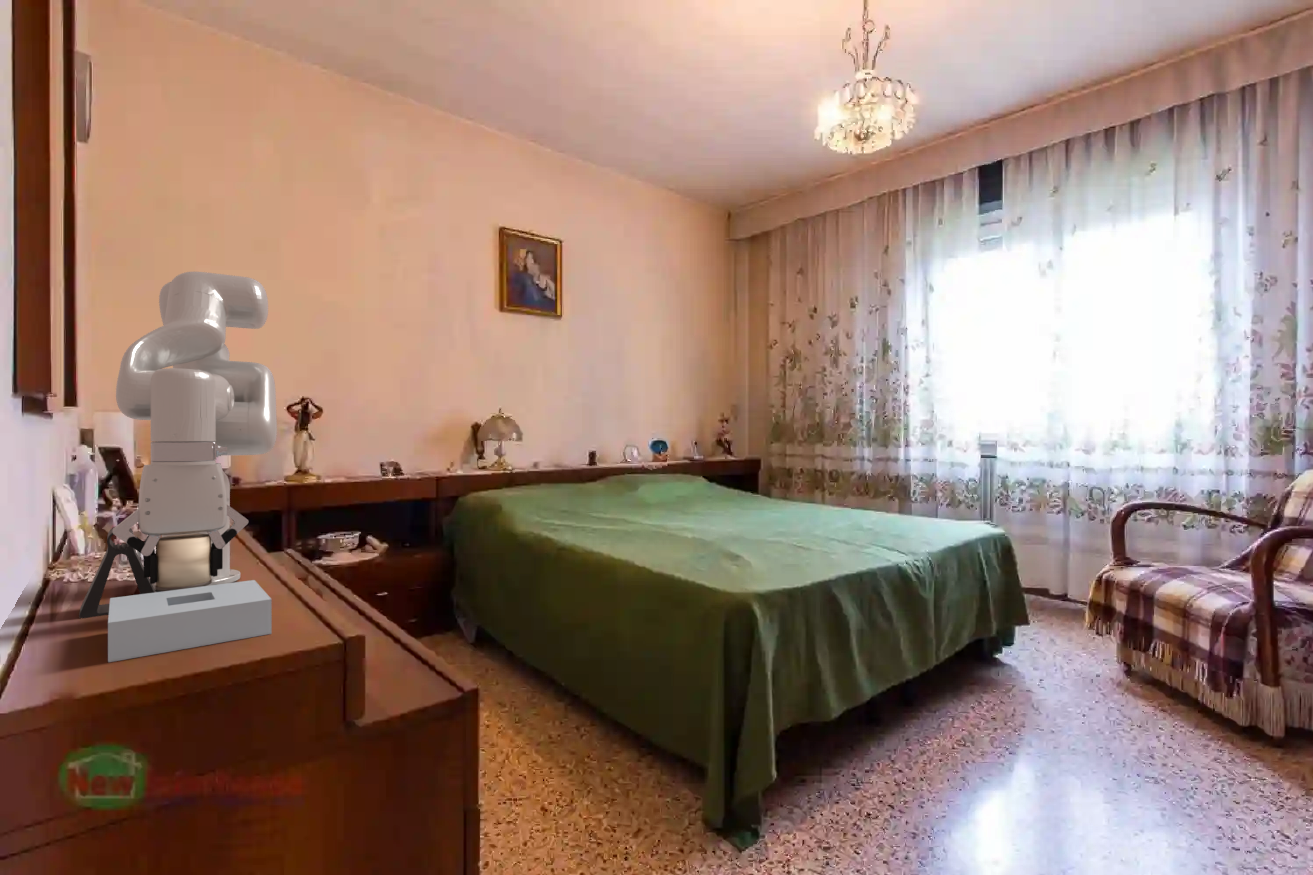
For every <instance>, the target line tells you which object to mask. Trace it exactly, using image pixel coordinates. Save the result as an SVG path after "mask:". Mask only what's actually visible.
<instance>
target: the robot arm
mask: <svg viewBox="0 0 1313 875" xmlns="http://www.w3.org/2000/svg"><path fill="white" fill-rule="evenodd" d="M158 297H159V298H158V299H159V300H158V301H159V302H158V303H159V312H160V318H161V322H162V324H163V325H162V326H159V327H158V328H155V329H153V330H151V331H150V332H148V333H146V334H144V335H143V336H141V337H140V338H139V339H137V340H135V341H134V342H133V343H132V344H130V346H128V348H127V349H126V351H125V352H124V353H123V356H122V357H121V358H122V359H121V361H120V366H119V372H118V376H117V381H116V388H115V400H116V405H117V407H118V409H119V411H120V412H121V413H122V414H123V415H124V416H125V417H128V418H130V419H133V420H137V421H138V420H139V421H150V464H144V465H143V468H142V472H141V476H140V477H141V478H140V483H139V490H138V491H139V493H138V506H137V507H138V508H137V509H136V510H134V512H132V513H131V514H129V516H127V517H126V518H125V519H124V520H122V521H121V522H120V523H119V524H117V525H116V526H114V527H115V528H114V529H113V531H112V532H113V534H114V536H116V537H117V538H118V539H120V540H121V541H123V542H124V543H125V544H126V543H127V544H128V545H129V546H131V547H132V548H134V549H135V550H136V552H138V553H139V554H141V555H142V556H143V567H144V578H147V577H149V579H150V584H152V585H153V587H154V589H155V586H156V582H157V555H156V544H157V542H158V540H159V539H160V538H161V537H166V536H174V535H184V534H209V536H210V537H211V579H212V583H211V584H209V585H207V586H210V585H218V584H226V583H234V582H238V580H240V578H241V572H240V570H237V569H231V567H230V566H231V564H230V563H231V561H230V560H231V558H230V557H231V552H230V551H231V544H230V542H231V541H232V540H233V539H234V538H235V537H236V536H237V534H238V533H240V532H241V531H242V530H243V529H244V528H245V527H246V526H247V525H248V524H249V519H247V518H246V517H245V516H243V515H242V514H241V513H239V512H238V511H237V510H236V509H234V508H233V507H231V506H230V505H231V504H230V503H231V502H230V501H231V500H230V498H231V497H230V496H231V495H230V494H231V493H230V492H231V486H230V485H231V483H230V479H229V477H228V475H227V473H225V471H223V467H222V463H219V462H216V460H217V458H219V457H222V456H256V455H257V456H259V455H263V454H268V453H269V452H270V451H271V450H273V449H274V447H275V444H276V441H277V437H278V435H277V434H278V423H277V422H278V420H277V395H276V393H277V392H276V383H275V378H274V374H273V372H272V371H271V369H270V368H269V367H268V366H267V365H264V364H263V363H259V362H252V361H239V360H230V350H229V348H228V346H227V345H226V344H225V342H226V338H227V337H226V332H227V328H235V329H236V328H237V329H238V328H239V329H253V330H255V329H256V330H258V329H261V328H262V327H264V326H265V324H266V322H267V321H268V320H267V319H268V315H269V298H268V295H267V291H266V289H265V287H264V286H263V284H262V283H261V282H259V281H258V280H257V279H254V278H252V277H249V276H248V277H247V276H240V275H232V274H224V273H214V272H213V273H212V272H205V271H204V272H203V271H187V272H182V273H180V274H178V275H176V276H175V277H174V278H172V280H171V281H169V282H167V283H165V284H164V285H163V286H162V287H161V289H160V291H159V296H158ZM230 519H231V520H232V521H233V524H232V525H231V523H230V522H231V520H230ZM137 523H138V528H139V530H140V532H141V533H142V534H144V535H146V536H147V537H146V538H145V540H144V541H143V540H142V539H141V538H139V537H137V536H136V535H134V533H133V534H132V533H130V532H129V529H130V528H131V529H132V527H134V526H135V525H136V524H137ZM230 525H231V526H230ZM155 591H157V590H156V589H155Z"/></svg>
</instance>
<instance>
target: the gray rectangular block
mask: <svg viewBox="0 0 1313 875" xmlns="http://www.w3.org/2000/svg"><path fill="white" fill-rule="evenodd" d="M272 600H273V599H272V597H271V596H269V595H268V593H267V592H266V591H265V590H264V589H263V588H262V587H261V585H260V584H259V583H258V582H257V581H256V580H255V579H252V580H243V581H242V580H241V581H235V582H232V583H226V584H218V585H210V586H202V587H194V588H187V589H179V590H171V591H156V592H155V593H147V594H140V593H139V594H133V595H131V594H130V595H126V596H125V595H124V596H117V597H110V598H109V604H110V605H109V615H108V618H107V662H108V663H113V662H114V663H115V662H117V661H118V662H119V661H124V660H130V659H135V658H141V657H147V656H151V655H158V654H164V653H170V652H175V651H180V650H181V651H182V650H186V649H193V648H197V647H203V646H209V645H215V644H221V643H227V642H233V641H238V640H243V639H251V638H255V637H260V636H266V635H272V628H273V626H272V622H273V620H272V616H273V615H272V609H273V608H272V604H273V601H272Z"/></svg>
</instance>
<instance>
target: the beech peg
mask: <svg viewBox="0 0 1313 875" xmlns="http://www.w3.org/2000/svg"><path fill="white" fill-rule="evenodd" d="M155 553H156V555H157V582H156V586H155V589H156V590H155V591H157V592H163V591H171V590H179V589H187V588H194V587H202V586H207V585H209V584H211V583H212V579H211V537H210V536H209V534H184V535H174V536H166V537H162V536H161V537H160V539H159V540H158V542H157V544H156V546H155Z"/></svg>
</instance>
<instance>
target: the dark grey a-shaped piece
mask: <svg viewBox="0 0 1313 875" xmlns="http://www.w3.org/2000/svg"><path fill="white" fill-rule="evenodd" d="M115 527H116V526H113V527H112V528H111V529H110V530H109V531H108V533H107V539H106V544H107V548H106V551H105V553H104V555H103V557H102V560H101V561H100V564H99V566H98V568H97V570H96V573H95V575H94V576H93V580H92V581H91V584H90V586H89V588H88V590H87V592H86V594H85V597H84V599H83V601H82V604H81V605H80V609H79V613H78V618H79V619H81V618H82V619H88V618H96V617H101V616H102V617H103V616H109V605H110V603H105V604H104V603H102V604H100V602H101V600H102V596H103V593H104V591H105V588H106V584H107V581H108V578H109V575H110V572H111V569H112V566H113V563H114V561H115V558H116V557H117V556H119V555H125V556H126V557H127V560H128V563H129V566H130V568H131V571H132V575H133V578H134V580H135V583H136V585H137V588H138V591H139V594H147V593H155V592H157V590H155V589H154V587H153V585H152V584H150V577H147V578H144V564H143V562H142V561H141V559H140V557H139V555H138V553H137V550H135V549H134V548H132V547H131V546H129V545H128V544H127V543H126V542H124V543H121V544H120V543H117V544H116V542H114V541H113V540H112V537H113V535H114V534H113V532H112V531H113V529H114V528H115ZM129 532H130V533H132V534H133V535H134V532H133V529H132V527H131V528H130V529H129ZM114 536H115V535H114Z"/></svg>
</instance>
